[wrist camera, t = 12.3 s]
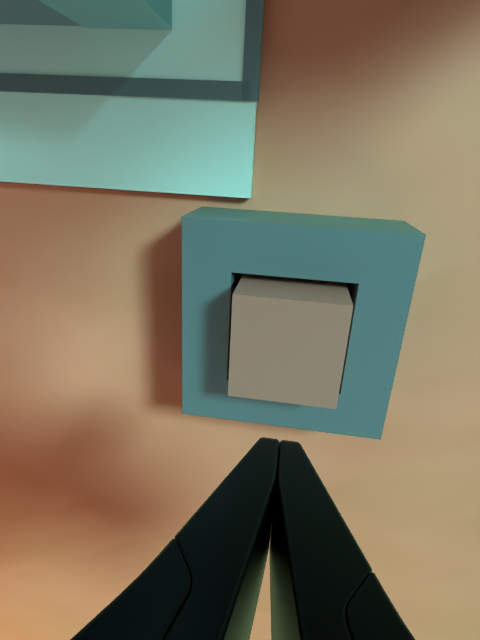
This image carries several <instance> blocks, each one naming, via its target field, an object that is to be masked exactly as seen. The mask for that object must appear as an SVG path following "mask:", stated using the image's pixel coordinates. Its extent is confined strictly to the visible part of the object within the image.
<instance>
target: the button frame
mask: <svg viewBox="0 0 480 640" xmlns="http://www.w3.org/2000/svg"><path fill="white" fill-rule="evenodd" d="M425 236H426V235H425V234H424V233H422V232H421V231H419V230H418V229H416V228H414V227H413V226H411V225H410V224H408V223H407V222H405V221H395V220H381V219H366V218H352V217H338V216H324V215H310V214H296V213H282V212H268V211H254V210H239V209H225V208H211V207H201V208H198V209H196V210H194V211H192V212H190V213H188V214H186V215H184V216H182V414H190V415H198V416H205V417H213V418H220V419H228V420H236V421H243V422H251V423H258V424H266V425H274V426H281V427H289V428H296V429H304V430H312V431H319V432H327V433H335V434H342V435H350V436H357V437H365V438H373V439H380V440H381V435H382V431H383V426H384V422H385V417H386V412H387V408H388V403H389V399H390V394H391V390H392V385H393V381H394V376H395V372H396V367H397V363H398V358H399V354H400V349H401V344H402V340H403V335H404V331H405V326H406V322H407V317H408V313H409V308H410V304H411V299H412V295H413V290H414V286H415V281H416V276H417V272H418V267H419V263H420V258H421V254H422V249H423V245H424V240H425ZM242 273H244V274H256V275H267V276H278V277H289V278H301V279H312V280H323V281H334V282H345V283H347V288H348V291H349V294H350V297H351V300H352V303H353V311H352V317H351V323H350V329H349V336H348V342H347V348H346V354H345V360H344V366H343V372H342V378H341V384H340V390H339V396H338V402H337V408H336V409H330V408H322V407H314V406H306V405H298V404H290V403H282V402H274V401H266V400H258V399H250V398H242V397H234V396H228V381H229V360H230V338H231V316H232V295H233V292H234V291H235V289H236V287H237V285H238V283H239V281H240V279H241V277H242Z"/></svg>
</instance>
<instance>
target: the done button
mask: <svg viewBox="0 0 480 640" xmlns="http://www.w3.org/2000/svg"><path fill="white" fill-rule="evenodd" d="M352 311H353V303H352V300H351V297H350V294H349V291H348V288H347V285H346V283H345V282H334V281H323V280H312V279H301V278H289V277H278V276H267V275H256V274H244V273H243V275H242V277H241V279H240V281H239V283H238V285H237V287H236V289H235V291H234V292H233V295H232V316H231V338H230V360H229V381H228V396H234V397H242V398H250V399H258V400H266V401H274V402H282V403H290V404H298V405H306V406H314V407H322V408H330V409H336V408H337V402H338V396H339V390H340V384H341V378H342V372H343V366H344V360H345V354H346V348H347V342H348V336H349V329H350V323H351V317H352Z"/></svg>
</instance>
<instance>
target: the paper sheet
mask: <svg viewBox="0 0 480 640" xmlns="http://www.w3.org/2000/svg"><path fill="white" fill-rule="evenodd" d="M263 16H264V0H172V30H146V29H109V28H84V27H83V26H58V25H20V24H0V181H1V182H16V183H30V184H45V185H60V186H75V187H90V188H105V189H119V190H134V191H149V192H164V193H179V194H193V195H208V196H223V197H238V198H251V193H252V176H253V159H254V142H255V125H256V108H257V101H258V99H259V83H260V66H261V50H262V33H263Z"/></svg>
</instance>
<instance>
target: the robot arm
mask: <svg viewBox="0 0 480 640" xmlns="http://www.w3.org/2000/svg"><path fill="white" fill-rule="evenodd" d="M279 445H280V446H279ZM271 525H272V527H271ZM270 535H271V537H270ZM269 543H270V595H271V636H272V640H415V638H414V637H413V636H412V634H411V633H410V631H409V630H408V628H407V627H406V625H405V624H404V622H403V621H402V619H401V617H400V616H399V614H398V612H397V611H396V609H395V607H394V606H393V604H392V603H391V601H390V599H389V598H388V596H387V594H386V593H385V591H384V589H383V587H382V586H381V584H380V582H379V580H378V579H377V577H376V575H375V574H374V573H373V572H372V568H371V567H370V565H369V563H368V561H367V560H366V558H365V556H364V554H363V553H362V551H361V549H360V547H359V546H358V544H357V542H356V540H355V539H354V537H353V535H352V533H351V532H350V530H349V528H348V527H347V525H346V523H345V521H344V520H343V518H342V516H341V514H340V513H339V511H338V509H337V507H336V506H335V504H334V502H333V500H332V499H331V497H330V495H329V493H328V492H327V490H326V488H325V486H324V485H323V483H322V481H321V479H320V478H319V476H318V474H317V472H316V471H315V469H314V467H313V465H312V464H311V462H310V460H309V458H308V457H307V455H306V453H305V451H304V450H303V448H302V446H301V445H300V443H298V442H294V441H286V440H282V441H281V442H279V440H277V439H271V438H264V437H263V438H260V439H259V440H258V441H257V442H256V444H255V445H254V446H253V447H252V448H251V449H250V450H249V452H248V453H247V454H246V455H245V456H244V457H243V459H242V460H241V461H240V462H239V463H238V464H237V465H236V467H235V468H234V469H233V470H232V471H231V472H230V473H229V475H228V476H227V477H226V478H225V479H224V480H223V482H222V483H221V484H220V485H219V486H218V487H217V488H216V490H215V491H214V492H213V493H212V494H211V495H210V497H209V498H208V499H207V500H206V501H205V502H204V503H203V505H202V506H201V507H200V508H199V509H198V510H197V511H196V513H195V514H194V515H193V516H192V517H191V518H190V520H189V521H188V522H187V523H186V524H185V525H184V526H183V528H182V529H181V530H180V531H179V532H178V533H177V535H176V536H175V539H172V540H171V541H170V542H169V543H168V545H167V546H166V547H165V548H164V549H163V550H162V552H161V553H160V554H159V555H158V556H157V557H156V558H155V559H154V560H153V561H152V562H151V564H150V565H149V566H148V567H147V568H146V569H145V570H144V571H143V572H142V573H141V574H140V575H139V576H138V577H137V578H136V579H135V580H134V581H133V582H132V583H131V584H130V585H129V586H128V587H127V588H126V589H125V590H124V591H123V592H122V593H121V594H120V595H119V596H117V597H116V598H115V599H114V600H113V601H112V602H111V603H110V604H109V605H108V606H107V607H106V608H104V609H103V610H102V611H101V612H100V613H99V614H98V615H97V616H96V617H95V618H94V619H92V620H91V621H90V622H89V623H88V624H87V625H86V626H85V627H84V628H83V629H81V630H80V631H79V632H78V633H77V634H76V635H75V636H74V637H73V638H72V639H71V640H249V638H250V634H251V629H252V625H253V620H254V615H255V611H256V606H257V602H258V597H259V593H260V588H261V584H262V579H263V574H264V570H265V565H266V561H267V555H268V550H269Z"/></svg>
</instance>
